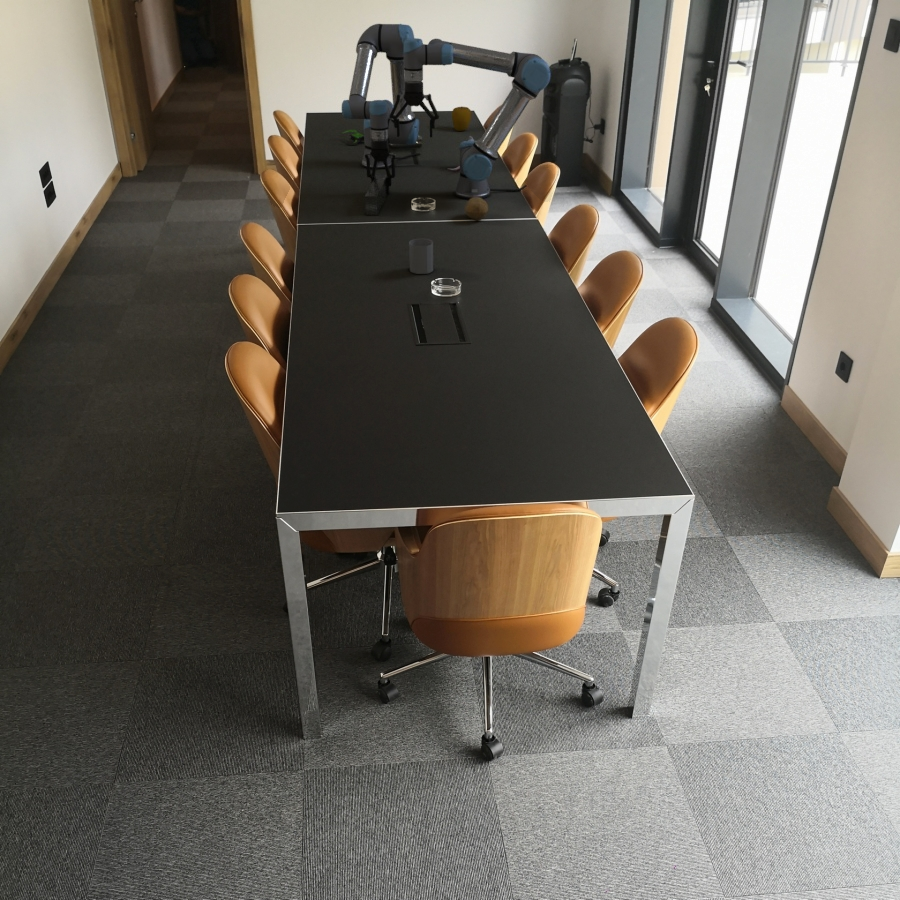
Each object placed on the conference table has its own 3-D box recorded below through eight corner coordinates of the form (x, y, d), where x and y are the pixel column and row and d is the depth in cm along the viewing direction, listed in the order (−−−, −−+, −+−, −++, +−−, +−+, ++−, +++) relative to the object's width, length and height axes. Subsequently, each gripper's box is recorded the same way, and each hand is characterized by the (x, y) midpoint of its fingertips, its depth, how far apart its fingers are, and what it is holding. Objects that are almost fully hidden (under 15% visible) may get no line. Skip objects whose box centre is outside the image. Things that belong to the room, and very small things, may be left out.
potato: (486, 212, 363) (486, 193, 359) (489, 223, 352) (490, 203, 347) (463, 213, 363) (463, 194, 359) (465, 223, 351) (466, 204, 347)
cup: (409, 265, 311) (408, 238, 306) (432, 265, 312) (431, 238, 307) (410, 274, 304) (409, 246, 299) (433, 273, 305) (433, 246, 299)
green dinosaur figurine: (396, 126, 467) (340, 124, 465) (396, 141, 460) (339, 139, 458) (396, 136, 472) (341, 134, 470) (396, 151, 465) (340, 149, 463)
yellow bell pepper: (471, 132, 486) (471, 108, 479) (451, 132, 486) (451, 108, 479) (470, 128, 495) (471, 104, 488) (452, 128, 495) (452, 104, 488)
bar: (377, 191, 389) (376, 173, 385) (388, 192, 389) (387, 174, 385) (365, 215, 361) (364, 195, 357) (377, 215, 361) (376, 196, 357)
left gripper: (357, 140, 371) (360, 195, 383) (399, 141, 370) (400, 196, 382) (360, 136, 377) (363, 190, 390) (401, 137, 376) (402, 191, 389)
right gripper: (381, 82, 344) (383, 137, 356) (444, 83, 343) (444, 139, 354) (384, 79, 350) (386, 133, 362) (445, 80, 349) (445, 134, 360)
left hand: (381, 193), depth 386 cm, fingers closed on bar, 5 cm apart
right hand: (414, 136), depth 358 cm, fingers open, 13 cm apart
